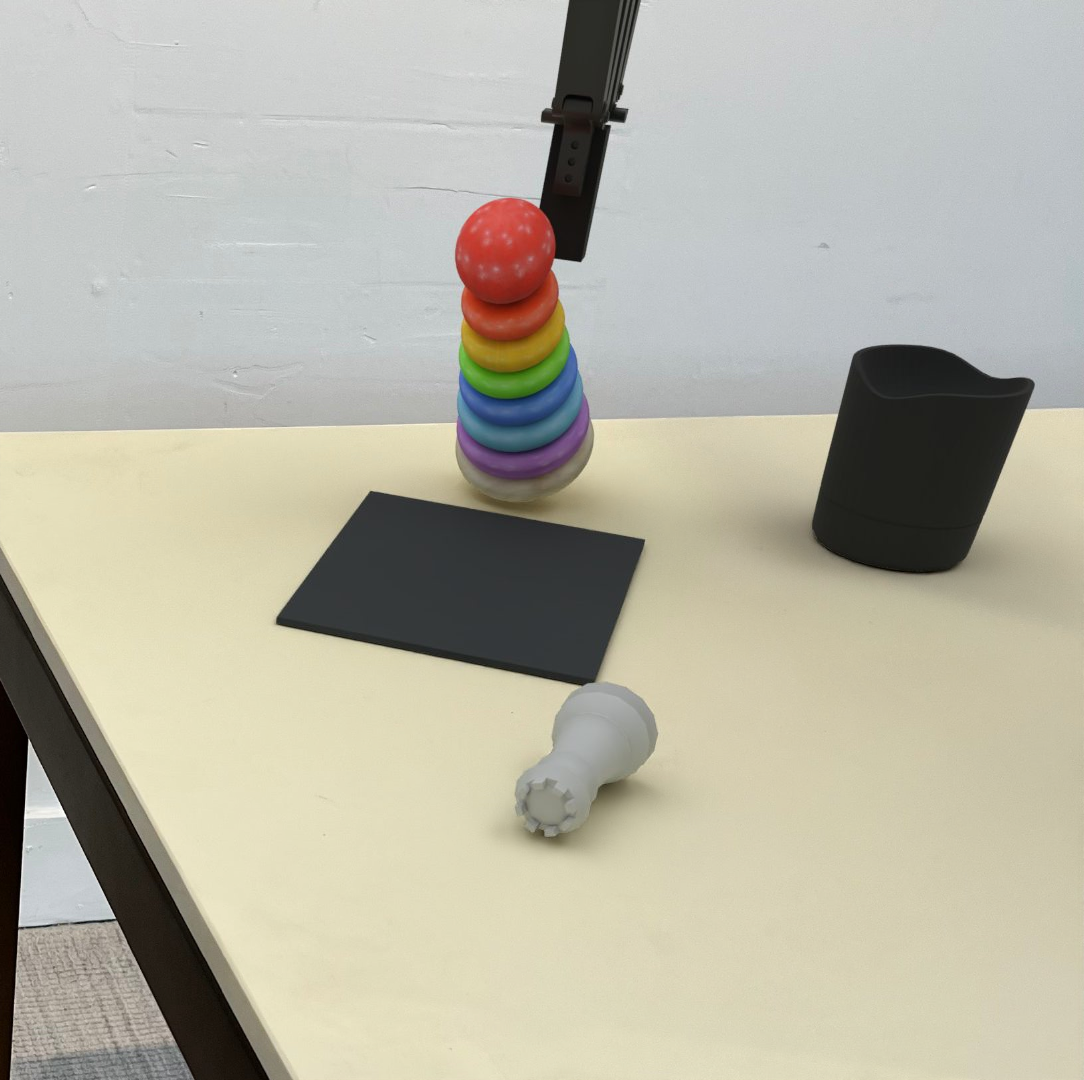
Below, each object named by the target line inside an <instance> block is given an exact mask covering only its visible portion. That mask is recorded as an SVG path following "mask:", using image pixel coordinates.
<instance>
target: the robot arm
mask: <svg viewBox="0 0 1084 1080" xmlns="http://www.w3.org/2000/svg"><path fill="white" fill-rule="evenodd" d="M641 2H642V0H568V5H567V12H566V18H565V26H564V31H563V38H562V43H561V52H560V59H559V65H558V71H557V78H556V85H555V90H554V91H555V92H554V96H553V97H552V99H551V105H550V108H549V107H545V108H544V109H543V110H542V111H541V114H540V123H544V124H551V125H553V129H552V135H551V140H550V147H549V152H548V157H547V163H546V168H545V174H544V179H543V185H542V189H541V195H540V200H539V206H538V208H539V209H540V210H541V211H542V212H543V213H544V214H545V215H546V217H547V218H548V220H549V222H550V224H551V226H552V229H553V232H554V236H555V244H556V247H555V256H554V260H561V261H567V262H568V261H569V262H576V263H582V262H583V260H584V259H585V257H586V255H587V249H588V243H589V239H590V233H591V229H592V224H593V218H594V214H595V209H596V204H597V199H598V195H599V194H598V193H599V189H600V184H601V180H602V173H603V170H604V163H605V158H606V153H607V149H608V145H609V138H610V135H611V134H610V133H611V129H612V124H608V123H610V122H611V123H620V124H626V121H627V119H628V114H629V110H630V109H629V108H626V107H618V104H617V103H618V102H619V101H620V100H621V97H622V96H623V93H624V90H625V89H624V88H625V85H624V79H625V74H626V69H627V66H628V61H629V56H630V52H631V48H632V42H633V39H634V33H635V31H636V30H635V29H636V26H637V25H636V24H637V20H638V17H639V11H640V7H641Z"/></svg>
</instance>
